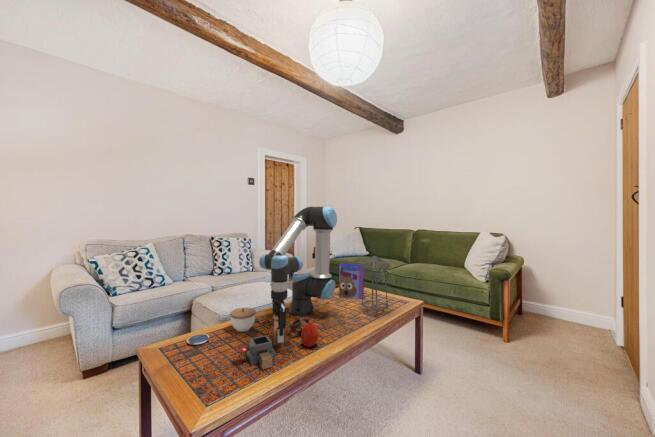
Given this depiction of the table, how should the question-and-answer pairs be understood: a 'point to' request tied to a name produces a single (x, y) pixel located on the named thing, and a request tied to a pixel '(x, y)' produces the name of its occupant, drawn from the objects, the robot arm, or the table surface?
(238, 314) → the lidded bowl
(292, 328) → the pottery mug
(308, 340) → the apple
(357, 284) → the cereal box
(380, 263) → the geometric lantern
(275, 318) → the pipe fitting
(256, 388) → the table surface
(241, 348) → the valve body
